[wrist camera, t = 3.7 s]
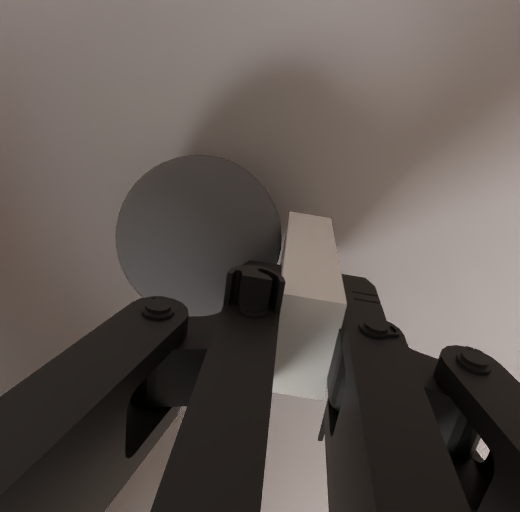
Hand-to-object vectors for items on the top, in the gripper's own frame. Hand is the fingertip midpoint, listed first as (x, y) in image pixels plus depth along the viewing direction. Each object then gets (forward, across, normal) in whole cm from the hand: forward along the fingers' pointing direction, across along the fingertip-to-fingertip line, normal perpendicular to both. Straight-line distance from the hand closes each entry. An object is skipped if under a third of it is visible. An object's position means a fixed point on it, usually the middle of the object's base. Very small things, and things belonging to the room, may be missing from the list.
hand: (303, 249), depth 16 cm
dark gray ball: (-1, +4, 0) cm, 4 cm away
